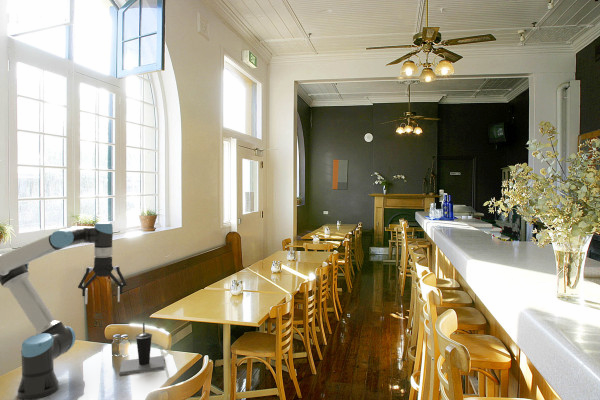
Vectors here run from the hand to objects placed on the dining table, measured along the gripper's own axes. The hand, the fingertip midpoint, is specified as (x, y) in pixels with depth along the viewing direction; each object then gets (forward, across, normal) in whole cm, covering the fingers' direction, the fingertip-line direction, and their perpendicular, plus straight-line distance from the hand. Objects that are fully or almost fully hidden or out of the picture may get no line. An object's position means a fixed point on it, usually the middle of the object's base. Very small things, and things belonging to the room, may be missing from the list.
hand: (102, 302), depth 196 cm
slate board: (+35, +18, +7) cm, 40 cm away
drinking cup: (+34, +19, +7) cm, 39 cm away
